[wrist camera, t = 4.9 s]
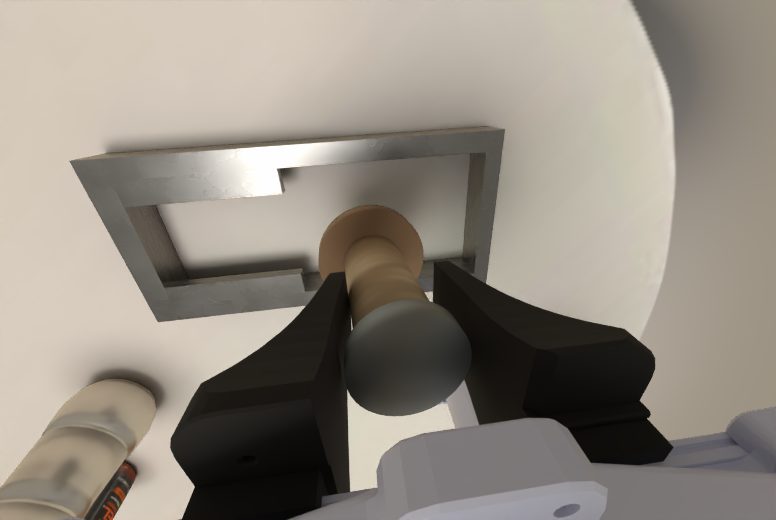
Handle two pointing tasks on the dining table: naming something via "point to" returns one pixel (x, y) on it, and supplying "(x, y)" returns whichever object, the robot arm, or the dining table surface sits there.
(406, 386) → the peg
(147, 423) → the plastic bottle
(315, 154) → the keyhole plate
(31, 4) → the dining table surface
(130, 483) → the supplement bottle
